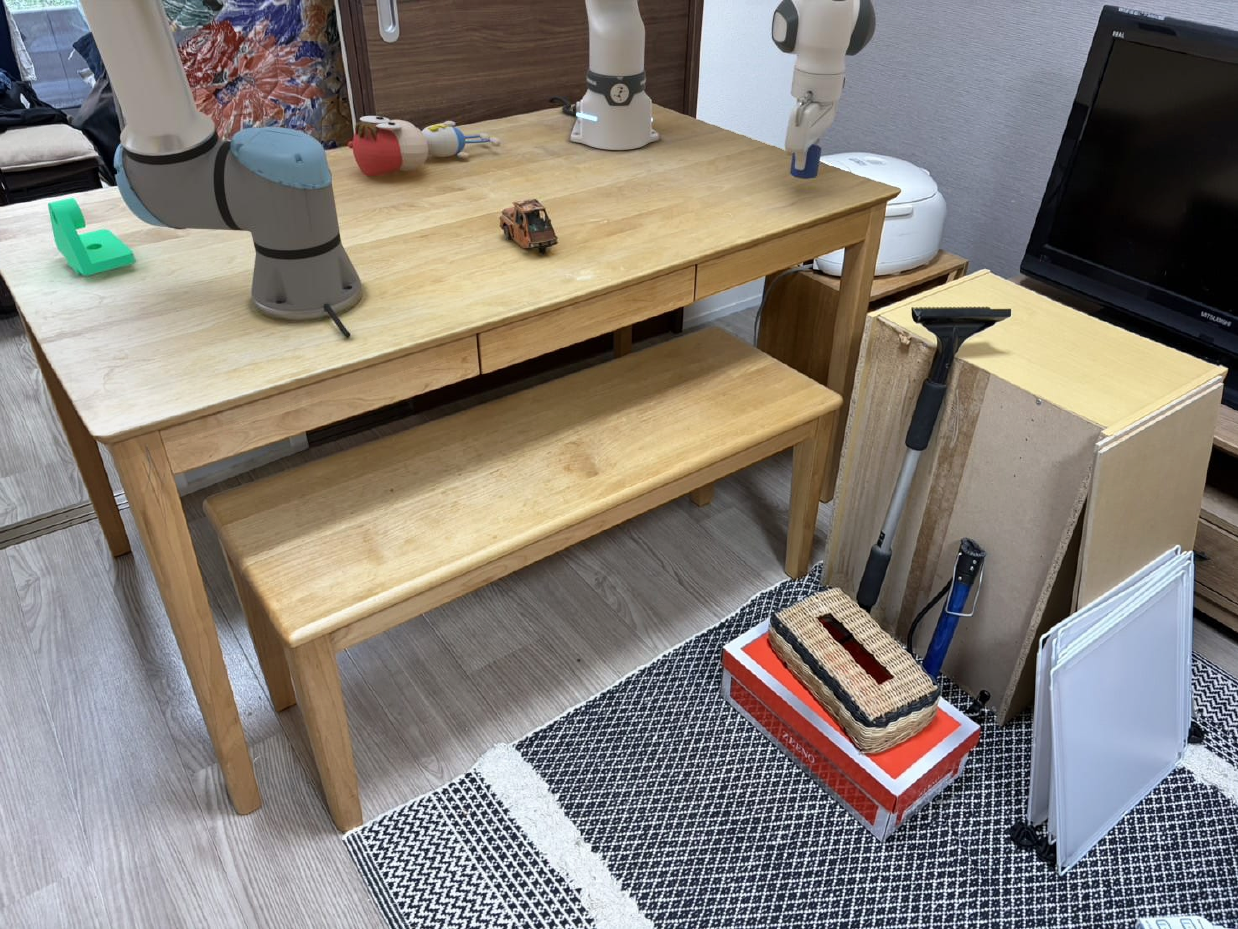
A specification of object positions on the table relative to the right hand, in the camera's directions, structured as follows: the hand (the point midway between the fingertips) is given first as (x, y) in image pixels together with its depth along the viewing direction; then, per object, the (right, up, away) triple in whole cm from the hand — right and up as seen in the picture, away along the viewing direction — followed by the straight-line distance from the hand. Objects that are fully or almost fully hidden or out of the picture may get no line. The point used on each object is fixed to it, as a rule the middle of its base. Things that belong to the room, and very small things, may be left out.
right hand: (805, 163), depth 172 cm
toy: (-72, +3, +10) cm, 73 cm away
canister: (0, -2, +1) cm, 2 cm away
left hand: (-91, +23, -28) cm, 97 cm away
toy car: (-50, -20, -20) cm, 57 cm away
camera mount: (-115, -25, -30) cm, 121 cm away
